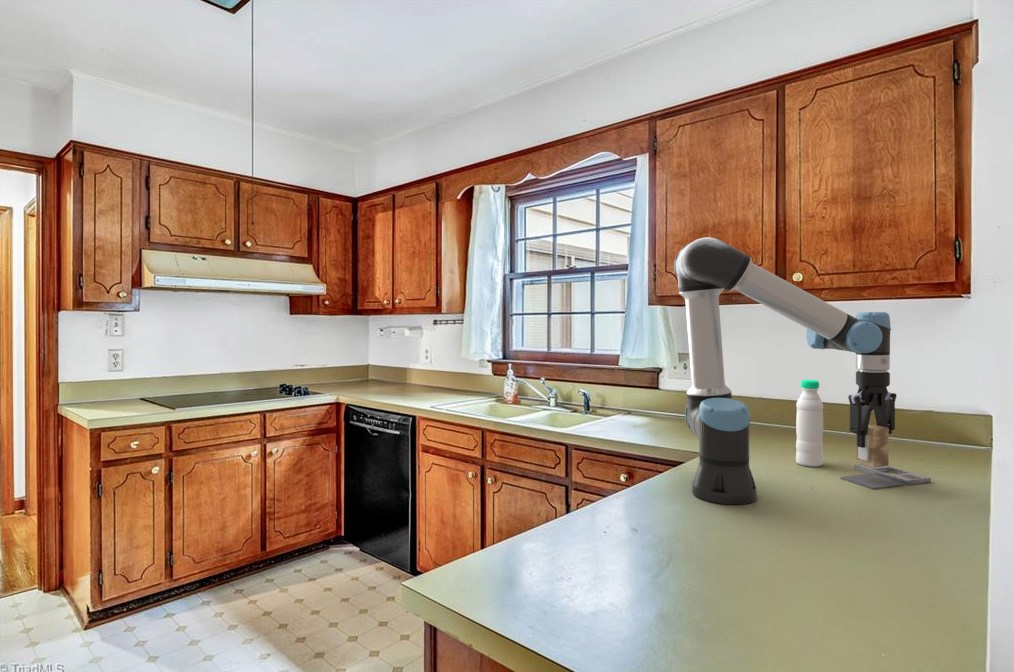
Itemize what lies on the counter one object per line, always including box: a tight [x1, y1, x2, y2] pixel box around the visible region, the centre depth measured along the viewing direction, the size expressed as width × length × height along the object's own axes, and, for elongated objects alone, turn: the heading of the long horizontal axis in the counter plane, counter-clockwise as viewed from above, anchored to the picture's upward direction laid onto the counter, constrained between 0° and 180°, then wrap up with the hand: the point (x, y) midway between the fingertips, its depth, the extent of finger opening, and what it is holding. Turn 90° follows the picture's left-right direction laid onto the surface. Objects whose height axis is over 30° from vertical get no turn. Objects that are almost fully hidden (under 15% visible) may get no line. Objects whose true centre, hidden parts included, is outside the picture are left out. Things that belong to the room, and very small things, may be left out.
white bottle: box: [795, 379, 824, 468], centre depth 167 cm, size 7×7×25 cm
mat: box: [840, 473, 905, 490], centre depth 150 cm, size 10×10×1 cm
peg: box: [856, 423, 890, 467], centre depth 150 cm, size 5×5×10 cm
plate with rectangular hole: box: [853, 463, 932, 486], centre depth 156 cm, size 8×16×1 cm, turn 15°
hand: (872, 458), depth 150 cm, fingers closed on peg, 5 cm apart
